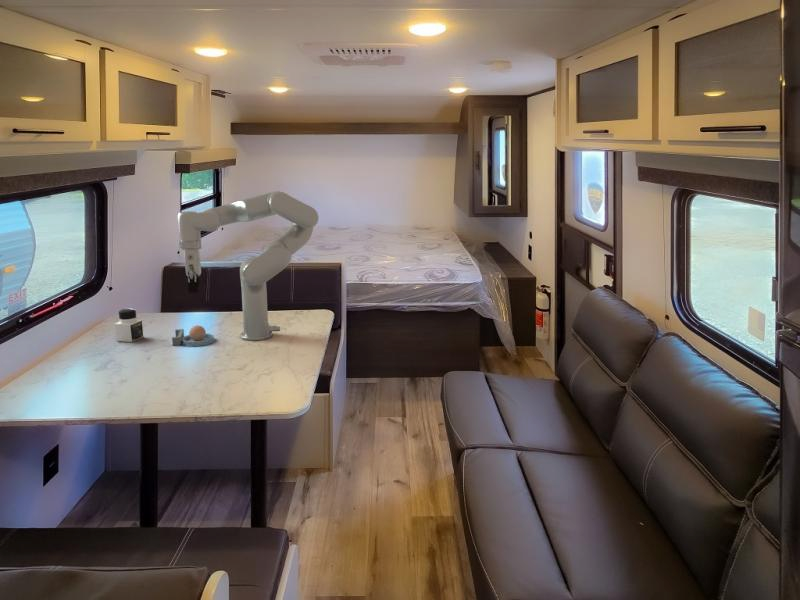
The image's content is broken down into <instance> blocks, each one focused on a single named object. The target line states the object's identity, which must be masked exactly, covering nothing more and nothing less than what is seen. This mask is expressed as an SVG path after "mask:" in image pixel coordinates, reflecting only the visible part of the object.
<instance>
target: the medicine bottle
mask: <svg viewBox="0 0 800 600" xmlns="http://www.w3.org/2000/svg"><path fill="white" fill-rule="evenodd" d="M118 319H119V321H118V322H115V323H114V330H115V331H114V332H115V340H116V342H125V343H126V342H127V343H133V342H136V341H138V340H140V339H142V337H143V338H144V327H143V321H142V320H141V319H137V311H136V309H134V308H129V307H128V308H122V309H120V310H119V311H118Z"/></svg>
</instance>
